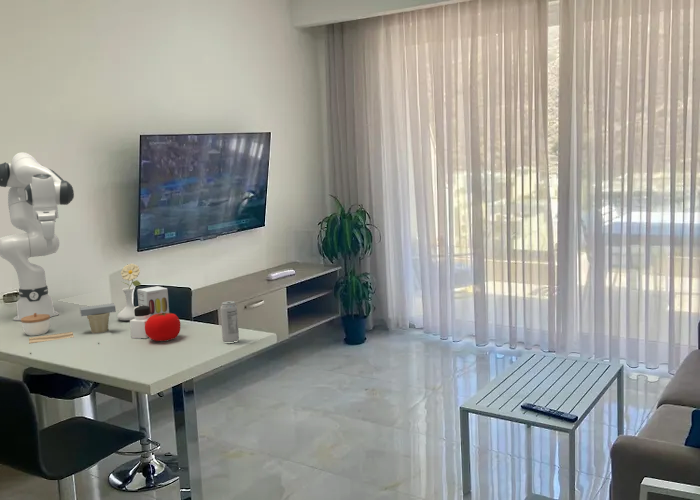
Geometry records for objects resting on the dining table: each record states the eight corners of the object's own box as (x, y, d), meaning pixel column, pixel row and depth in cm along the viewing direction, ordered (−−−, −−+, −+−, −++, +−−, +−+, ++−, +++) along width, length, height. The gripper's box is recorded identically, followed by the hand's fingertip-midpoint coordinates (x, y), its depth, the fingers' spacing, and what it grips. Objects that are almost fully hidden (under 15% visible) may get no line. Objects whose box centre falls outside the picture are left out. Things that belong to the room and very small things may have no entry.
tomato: (171, 344, 248) (169, 317, 247) (139, 344, 250) (137, 317, 249) (187, 334, 262) (185, 308, 261) (157, 334, 264) (155, 308, 263)
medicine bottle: (157, 334, 265) (154, 304, 263) (146, 339, 258) (143, 308, 257) (142, 333, 267) (139, 304, 266) (130, 338, 260) (128, 308, 259)
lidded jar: (40, 339, 265) (38, 316, 264) (16, 339, 268) (14, 316, 266) (57, 332, 276) (55, 310, 274) (34, 332, 278) (32, 310, 277)
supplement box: (149, 332, 268) (145, 291, 265) (139, 329, 275) (136, 289, 272) (171, 328, 274) (168, 287, 272) (161, 324, 281) (158, 285, 278)
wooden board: (29, 340, 265) (29, 337, 264) (72, 334, 271) (72, 331, 271) (29, 346, 256) (29, 343, 255) (74, 339, 262) (73, 337, 262)
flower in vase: (111, 321, 290) (106, 265, 287) (129, 315, 301) (124, 261, 297) (135, 323, 285) (130, 265, 282) (152, 317, 296) (147, 261, 293)
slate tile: (80, 313, 269) (79, 307, 269) (113, 309, 275) (113, 303, 275) (81, 316, 264) (80, 310, 264) (115, 311, 270) (115, 305, 269)
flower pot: (91, 331, 275) (89, 310, 274) (115, 329, 276) (113, 309, 275) (84, 337, 266) (82, 315, 264) (108, 335, 266) (106, 314, 265)
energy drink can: (233, 338, 252) (230, 300, 250) (242, 341, 248) (239, 302, 246) (219, 342, 248) (216, 303, 246) (228, 345, 244) (226, 305, 242)
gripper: (37, 213, 276) (41, 246, 278) (37, 216, 258) (41, 251, 260) (53, 212, 279) (57, 245, 281) (55, 215, 261) (59, 250, 263)
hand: (49, 248), depth 270 cm, fingers open, 8 cm apart
